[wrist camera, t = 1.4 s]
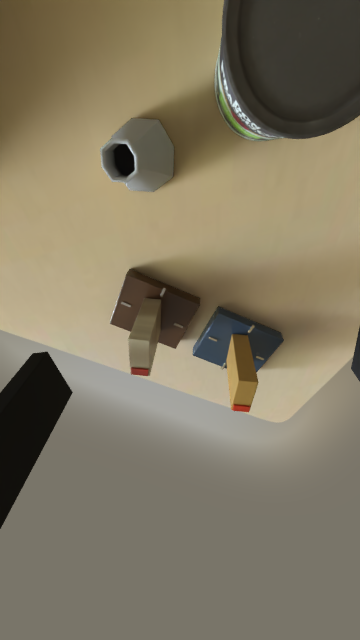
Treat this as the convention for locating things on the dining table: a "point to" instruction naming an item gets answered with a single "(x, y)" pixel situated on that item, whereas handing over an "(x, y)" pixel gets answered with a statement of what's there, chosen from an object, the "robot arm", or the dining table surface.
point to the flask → (139, 155)
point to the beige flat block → (145, 337)
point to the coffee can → (288, 67)
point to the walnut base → (173, 306)
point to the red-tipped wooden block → (241, 373)
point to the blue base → (219, 335)
